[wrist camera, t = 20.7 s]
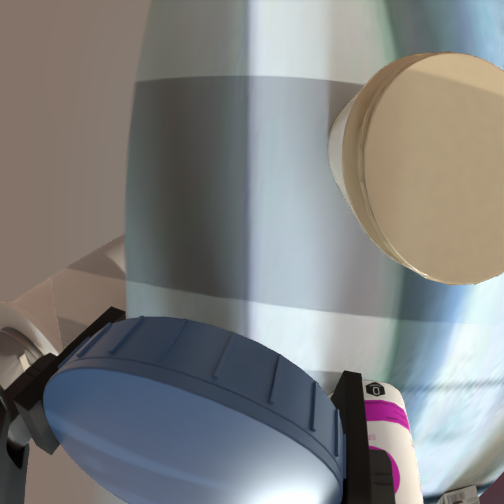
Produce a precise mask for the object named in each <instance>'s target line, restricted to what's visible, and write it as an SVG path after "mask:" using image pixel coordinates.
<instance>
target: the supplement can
mask: <svg viewBox="0 0 504 504" xmlns="http://www.w3.org/2000/svg"><path fill="white" fill-rule="evenodd" d="M362 383H363V392H364V400H365V409H366V419H367V429H368V441H369V449H377V450H385V451H386V452H387V454H388V456H389V458H390V459H391V461H392V470H393V474H392V476H393V479H394V484H393V485H394V489H395V501H396V504H423V497H422V490H421V484H420V478H419V472H418V467H417V461H416V456H415V451H414V446H413V441H412V436H411V431H410V427H409V422H408V418H407V414H406V409H405V405H404V401H403V398H402V396H401V394H400V392H399V391H398V390H397V389H396V388H394V387H393V386H392V385H390V384H387V383H383V382H379V381H362ZM333 393H334V392H332V393H331V394H330V395H329V396H328V397H329V398H330V399H331V397H332V395H333Z"/></svg>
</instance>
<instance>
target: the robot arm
mask: <svg viewBox="0 0 504 504" xmlns="http://www.w3.org/2000/svg"><path fill="white" fill-rule="evenodd" d="M122 320H126V315H125V311H122V310H119V309H117V308H114V307H110V308H109V309H108V310H107V311H106V312H104V313H103V314H102V315H101V316H100V317H99V318H98V319H97V320H96V321H95V322H93V323H92V324H91V325H90V326H89V327H88V328H87V329H86V330H85V331H84V332H83V333H81V334H80V335H79V336H78V337H77V338H76V339H75V340H74V341H73V342H72V343H71V344H70V345H69V346H67V347H66V348H65V349H64V350H63V351H62V352H61V353H60V354H59V355H58V356H56V355H54V354H52V353H51V352H50V353H48V354H46V355H43V353H42V352H41V351H40V350H39V349H38V348H37V347H36V345H35V344H34V343H33V342H32V341H31V340H30V339H28V338H27V337H26V336H25V335H24V334H22V333H21V332H19V331H18V330H16V329H14V328H11V327H4V328H2V329H1V330H0V504H24V498H25V484H26V474H27V465H28V456H29V444H28V441H29V440H30V439H31V438H33V440H34V442H35V444H36V445H37V446H38V447H40V448H41V449H43V450H44V451H46V452H47V453H49V454H50V455H52V454H53V453H54V451H55V450H56V449H57V447H58V446H59V445H60V443H59V441H58V440H57V438H56V437H55V435H54V433H53V431H52V429H51V427H50V425H49V423H48V421H47V418H46V415H45V411H44V406H43V394H44V389H45V386H46V384H47V382H48V381H49V379H50V378H51V377H52V376H53V375H54V374H55V373H56V372H57V371H58V370H59V368H58V366H59V365H60V364H61V363H62V362H63V361H64V360H65V359H66V358H67V357H68V356H69V355H70V354H71V353H72V352H73V351H74V350H75V349H76V348H77V347H78V346H79V345H80V344H81V343H82V342H83V341H84V340H85V339H86V338H87V337H88V336H89V337H90V338H91V337H92V336H94V335H95V334H96V333H97V332H98V331H99V330H101V329H103V328H104V327H105V326H106V325H107V324H108V323H111V324H112V323H115V322H119V321H122ZM330 400H331V401H332V403H333V404H334V406H335V408H336V409H338V410H339V417H340V420H341V424H342V430H343V434H346V479H343V494H342V501H341V503H340V504H396V501H395V489H394V485H393V484H394V479H393V476H392V474H393V470H392V461H391V459H390V458H389V456H388V454H387V452H386V451H385V450H377V449H369V441H368V429H367V419H366V409H365V400H364V392H363V383H362V376H361V373H355V372H350V371H344V372H343V374H342V376H341V378H340V380H339V382H338V384H337V386H336V388H335V391H334V393H333V395H332V397H331V399H330Z"/></svg>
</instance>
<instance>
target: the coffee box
mask: <svg viewBox="0 0 504 504" xmlns="http://www.w3.org/2000/svg"><path fill="white" fill-rule="evenodd" d="M437 504H480V502H479V498H478V494H477V490H476V487H475V485H472V486H469V487H466V488H463V489H459V490H456V491H452V492H449V493H445V494H443V495H442V496H441V498H440V499H439V501H438V502H437Z"/></svg>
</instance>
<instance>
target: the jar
mask: <svg viewBox="0 0 504 504" xmlns="http://www.w3.org/2000/svg"><path fill="white" fill-rule="evenodd" d="M328 159H329V165H330V169H331V172H332V175H333V177H334V180H335V182H336V183H337V185H338V187H339V189H340V191H341V192H342V194H343V196H344V197H345V199H346V201H347V202H348V204H349V206H350V208H351V209H352V211H353V213H354V215H355V216H356V218H357V220H358V222H359V223H360V225H361V226H362V228H363V229H364V231H365V232H366V234H367V235H368V237H369V238H370V239H371V240H372V241H373V242H374V244H375V245H376V246H377V247H378V248H379V249H381V250H382V251H383V252H384V253H385V254H386V255H387V256H389V257H390V258H392V259H393V260H395V261H396V262H397V263H399V264H401V265H403V266H405V267H407V268H410V269H411V270H413V271H415V272H416V273H418V274H420V275H421V276H423V277H425V278H426V279H428V280H432V281H437V282H441V283H445V284H449V285H466V284H477V283H480V282H483V281H485V280H488V279H491V278H493V277H496V276H499V275H500V274H502V273H503V272H504V71H503V70H502V69H500V68H499V67H497V66H496V65H494V64H492V63H490V62H488V61H486V60H484V59H482V58H479V57H476V56H472V55H469V54H463V53H454V52H449V51H448V52H440V53H418V54H414V55H409V56H405V57H403V58H400V59H398V60H396V61H393V62H391V63H390V64H388V65H387V66H385V67H384V68H382V69H381V70H379V71H378V72H377V73H376V74H375V75H374V76H373V77H372V78H371V79H370V80H369V81H368V82H367V83H366V84H365V85H364V86H363V87H362V88H361V89H360V90H359V91H358V93H357V94H356V95H355V96H354V97H353V98H352V99H351V100H350V101H349V102H348V103H347V105H346V106H345V107H344V108H343V109H342V110H341V112H340V113H339V114H338V116H337V118H336V119H335V121H334V123H333V126H332V128H331V132H330V135H329V141H328Z"/></svg>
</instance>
